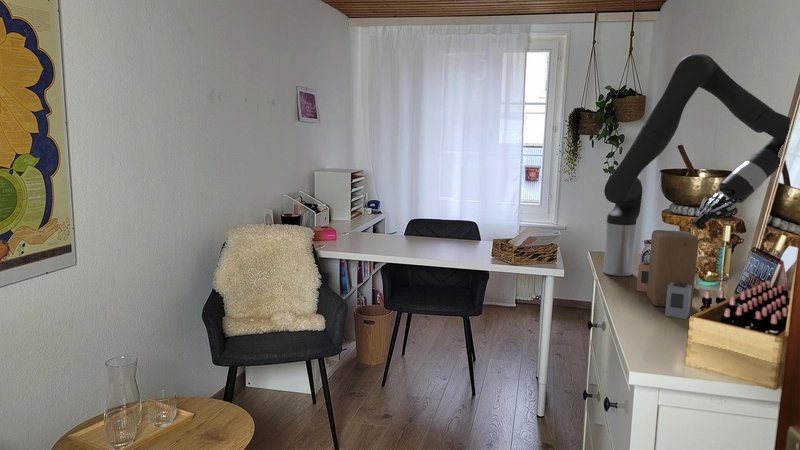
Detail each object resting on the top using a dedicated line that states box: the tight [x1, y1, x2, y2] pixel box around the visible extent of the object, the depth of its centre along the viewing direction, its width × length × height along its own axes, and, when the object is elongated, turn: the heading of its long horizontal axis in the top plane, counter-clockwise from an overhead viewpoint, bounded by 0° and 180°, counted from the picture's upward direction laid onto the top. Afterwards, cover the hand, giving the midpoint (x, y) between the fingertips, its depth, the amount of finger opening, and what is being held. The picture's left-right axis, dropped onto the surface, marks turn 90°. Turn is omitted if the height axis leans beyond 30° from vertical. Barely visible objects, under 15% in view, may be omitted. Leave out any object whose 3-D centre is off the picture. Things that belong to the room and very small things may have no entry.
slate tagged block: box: [664, 282, 692, 320], centre depth 150 cm, size 5×5×8 cm
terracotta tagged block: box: [636, 261, 650, 293], centre depth 174 cm, size 5×5×8 cm
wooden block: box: [646, 229, 699, 309], centre depth 160 cm, size 10×10×20 cm
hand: (695, 226), depth 158 cm, fingers closed
